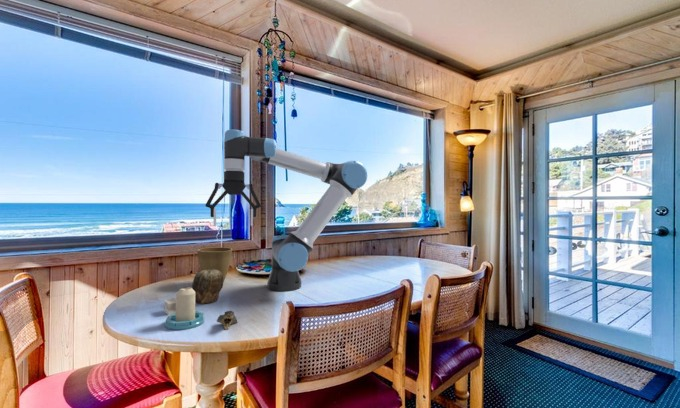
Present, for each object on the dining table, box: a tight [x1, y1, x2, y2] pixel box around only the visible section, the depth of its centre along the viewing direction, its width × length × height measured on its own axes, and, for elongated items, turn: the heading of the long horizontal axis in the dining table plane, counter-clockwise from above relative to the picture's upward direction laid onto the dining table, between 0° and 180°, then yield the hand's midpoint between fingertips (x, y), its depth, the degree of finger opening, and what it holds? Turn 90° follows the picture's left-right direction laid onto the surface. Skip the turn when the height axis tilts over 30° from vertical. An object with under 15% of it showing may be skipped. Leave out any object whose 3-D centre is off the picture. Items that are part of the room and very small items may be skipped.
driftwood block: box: [164, 297, 176, 316], centre depth 113 cm, size 5×5×4 cm
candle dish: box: [164, 310, 205, 331], centre depth 103 cm, size 11×11×2 cm
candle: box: [175, 286, 196, 322], centre depth 103 cm, size 6×6×10 cm
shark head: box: [216, 310, 238, 330], centre depth 101 cm, size 8×6×7 cm
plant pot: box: [196, 246, 233, 283], centre depth 149 cm, size 15×15×16 cm
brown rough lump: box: [191, 269, 224, 304], centre depth 125 cm, size 11×11×12 cm
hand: (233, 225), depth 127 cm, fingers open, 13 cm apart
